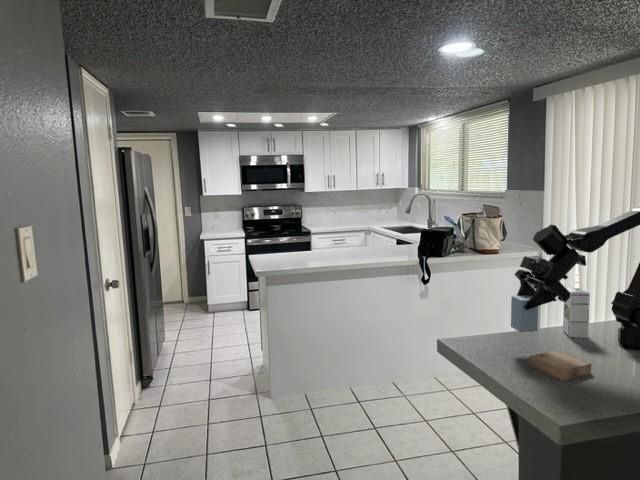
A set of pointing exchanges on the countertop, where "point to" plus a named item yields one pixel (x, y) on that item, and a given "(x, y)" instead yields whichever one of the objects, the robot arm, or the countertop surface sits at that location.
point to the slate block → (523, 315)
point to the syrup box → (576, 313)
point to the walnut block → (559, 365)
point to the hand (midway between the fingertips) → (519, 306)
